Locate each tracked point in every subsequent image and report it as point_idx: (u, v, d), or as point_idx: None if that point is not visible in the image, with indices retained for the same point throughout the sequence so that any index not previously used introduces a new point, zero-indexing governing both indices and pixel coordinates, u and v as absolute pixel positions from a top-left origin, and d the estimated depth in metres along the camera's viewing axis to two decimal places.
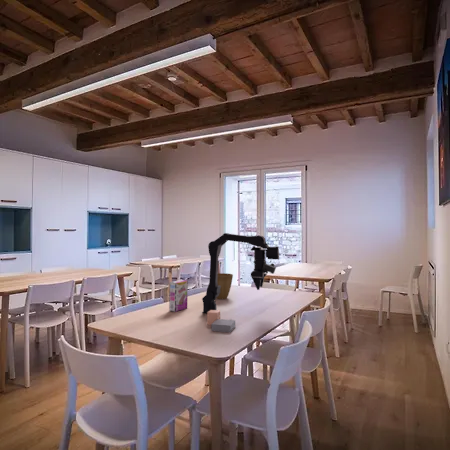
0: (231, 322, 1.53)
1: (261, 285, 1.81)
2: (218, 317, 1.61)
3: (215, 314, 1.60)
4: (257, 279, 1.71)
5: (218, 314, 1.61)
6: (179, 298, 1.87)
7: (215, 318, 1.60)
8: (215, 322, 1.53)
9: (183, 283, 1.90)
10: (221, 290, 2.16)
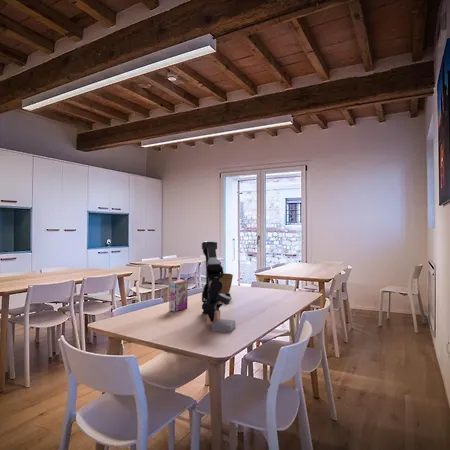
0: (231, 322, 1.53)
1: None
2: (218, 317, 1.61)
3: (215, 314, 1.60)
4: (211, 310, 1.59)
5: (218, 314, 1.62)
6: (179, 298, 1.87)
7: (215, 318, 1.60)
8: (215, 322, 1.53)
9: (183, 283, 1.90)
10: (221, 290, 2.16)
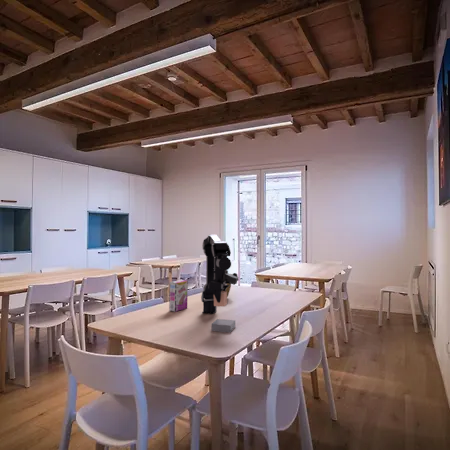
0: (231, 322, 1.53)
1: None
2: (225, 298, 1.55)
3: (222, 295, 1.53)
4: (217, 290, 1.53)
5: (225, 295, 1.55)
6: (179, 298, 1.87)
7: (222, 299, 1.53)
8: (215, 322, 1.53)
9: (183, 283, 1.90)
10: None
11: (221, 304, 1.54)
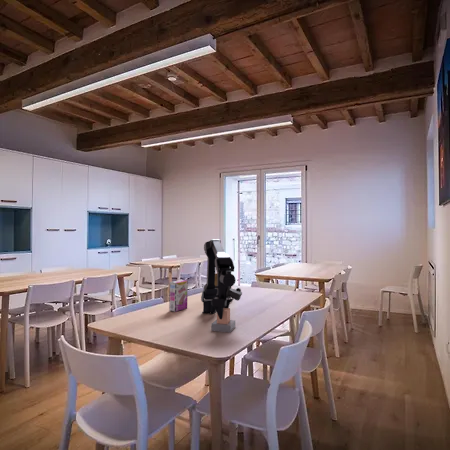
0: (231, 322, 1.53)
1: None
2: (228, 315, 1.53)
3: (225, 312, 1.51)
4: (219, 307, 1.49)
5: (228, 312, 1.53)
6: (179, 298, 1.87)
7: (225, 316, 1.51)
8: (215, 322, 1.53)
9: (183, 283, 1.90)
10: None
11: (224, 321, 1.51)
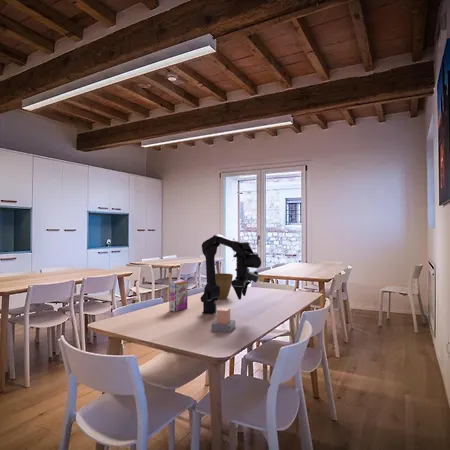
0: (231, 322, 1.53)
1: (244, 294, 1.70)
2: (228, 315, 1.53)
3: (225, 312, 1.51)
4: (238, 288, 1.61)
5: (228, 312, 1.53)
6: (179, 298, 1.87)
7: (225, 316, 1.51)
8: (215, 322, 1.53)
9: (183, 283, 1.90)
10: (221, 290, 2.16)
11: (224, 321, 1.51)
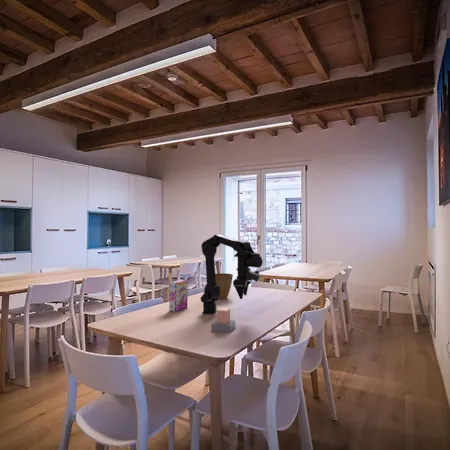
0: (231, 322, 1.53)
1: (245, 293, 1.71)
2: (228, 315, 1.53)
3: (225, 312, 1.51)
4: (240, 288, 1.61)
5: (228, 312, 1.53)
6: (179, 298, 1.87)
7: (225, 316, 1.51)
8: (215, 322, 1.53)
9: (183, 283, 1.90)
10: (221, 290, 2.16)
11: (224, 321, 1.51)
